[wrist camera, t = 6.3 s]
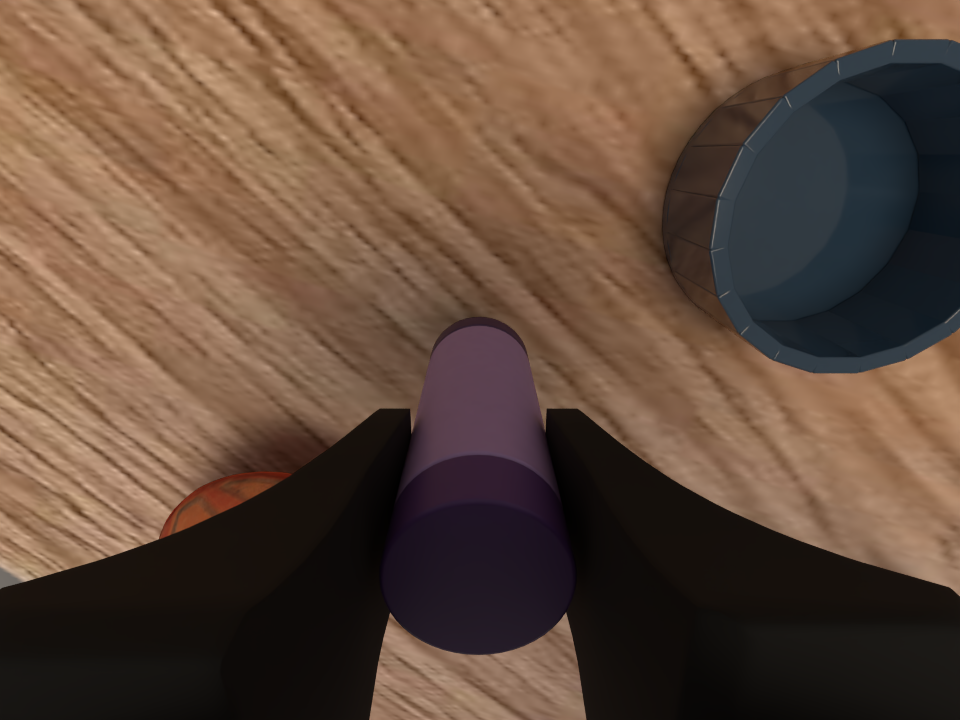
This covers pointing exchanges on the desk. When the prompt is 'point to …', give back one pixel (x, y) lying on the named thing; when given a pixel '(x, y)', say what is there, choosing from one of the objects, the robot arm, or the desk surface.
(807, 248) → the desk cup
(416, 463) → the glue stick
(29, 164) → the desk surface
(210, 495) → the pot
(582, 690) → the robot arm
